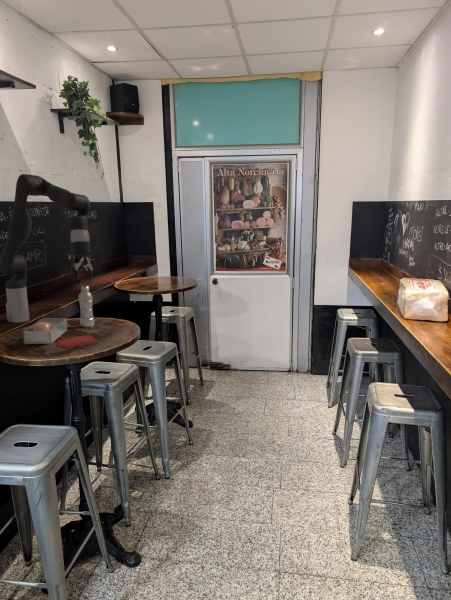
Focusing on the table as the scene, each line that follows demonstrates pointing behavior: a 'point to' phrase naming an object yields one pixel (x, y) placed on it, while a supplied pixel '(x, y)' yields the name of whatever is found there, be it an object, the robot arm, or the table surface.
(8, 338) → the table surface
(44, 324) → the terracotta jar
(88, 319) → the plastic bottle
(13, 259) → the robot arm
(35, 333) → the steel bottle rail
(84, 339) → the red cloth
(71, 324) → the table surface
